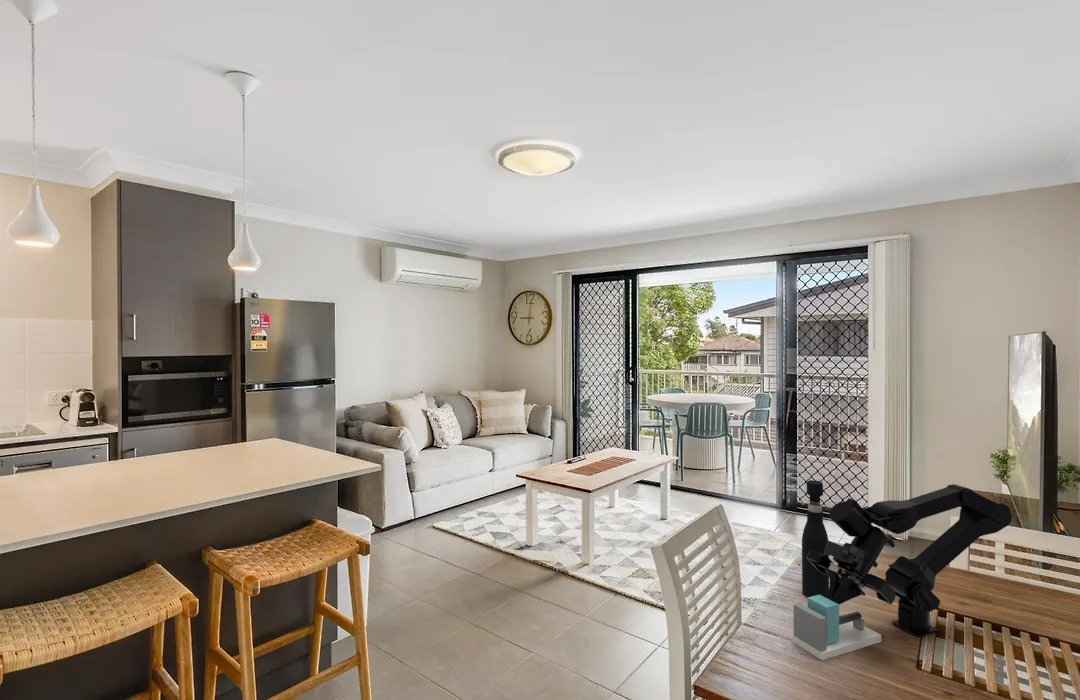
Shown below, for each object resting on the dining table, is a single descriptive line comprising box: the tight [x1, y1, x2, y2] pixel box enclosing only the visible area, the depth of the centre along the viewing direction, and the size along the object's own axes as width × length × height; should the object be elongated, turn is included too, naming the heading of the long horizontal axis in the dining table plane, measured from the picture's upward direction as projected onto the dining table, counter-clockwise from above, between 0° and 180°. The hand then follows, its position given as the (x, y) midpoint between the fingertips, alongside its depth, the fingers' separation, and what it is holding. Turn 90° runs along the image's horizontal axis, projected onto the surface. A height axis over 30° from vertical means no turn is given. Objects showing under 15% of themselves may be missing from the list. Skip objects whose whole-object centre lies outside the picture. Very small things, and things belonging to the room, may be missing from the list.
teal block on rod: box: [807, 595, 840, 644], centre depth 120 cm, size 4×5×8 cm
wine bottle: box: [801, 480, 830, 599], centre depth 143 cm, size 6×6×30 cm
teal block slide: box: [791, 602, 882, 661], centre depth 121 cm, size 18×8×8 cm, turn 112°
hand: (829, 606), depth 120 cm, fingers closed, pressing on teal block on rod
